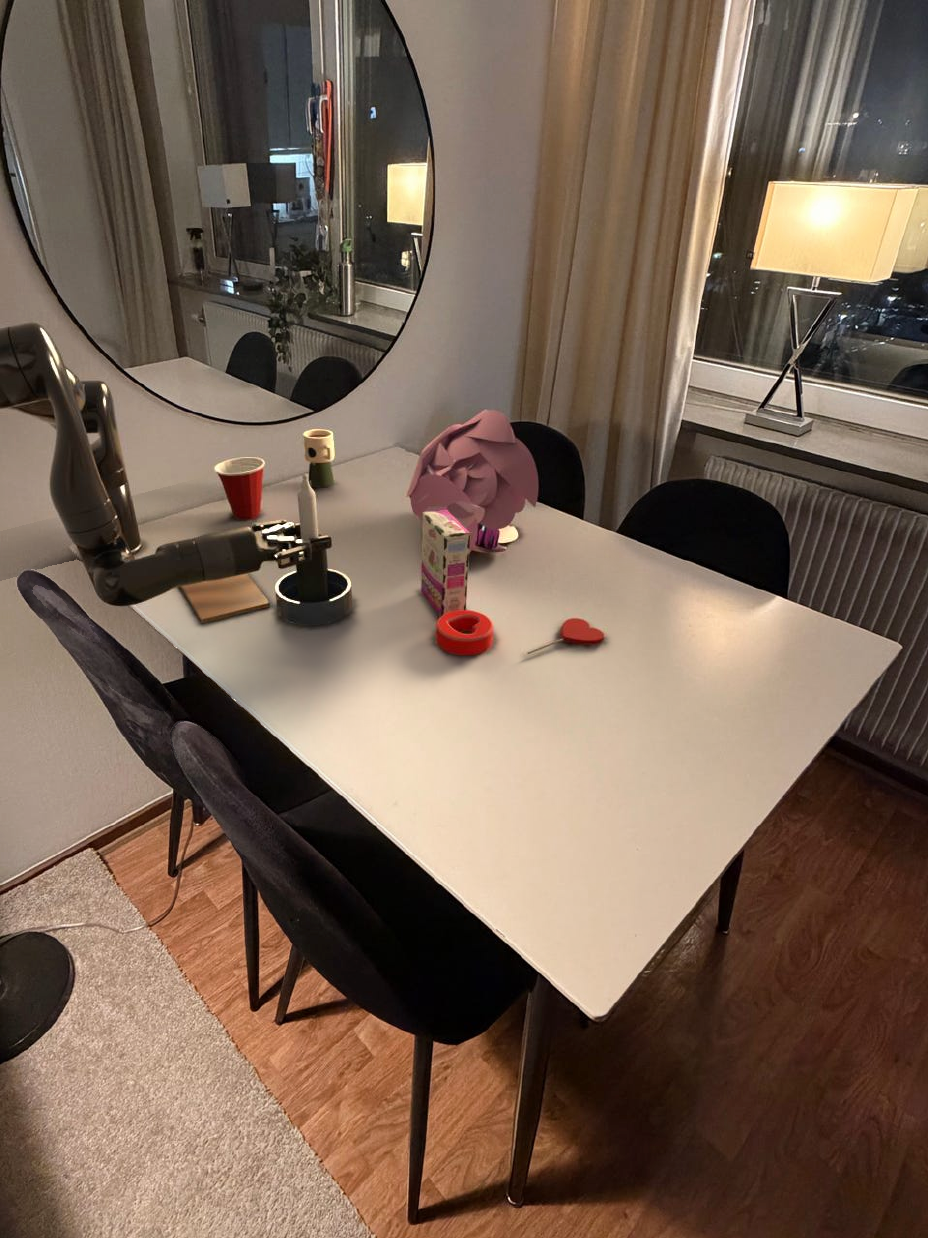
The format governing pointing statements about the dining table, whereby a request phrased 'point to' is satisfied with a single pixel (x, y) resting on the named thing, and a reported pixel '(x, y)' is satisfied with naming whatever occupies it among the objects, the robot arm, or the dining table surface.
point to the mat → (224, 597)
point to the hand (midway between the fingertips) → (322, 533)
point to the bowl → (317, 610)
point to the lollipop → (577, 633)
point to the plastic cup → (242, 485)
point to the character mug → (319, 456)
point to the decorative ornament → (464, 643)
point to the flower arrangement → (477, 479)
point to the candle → (316, 570)
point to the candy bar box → (444, 561)
